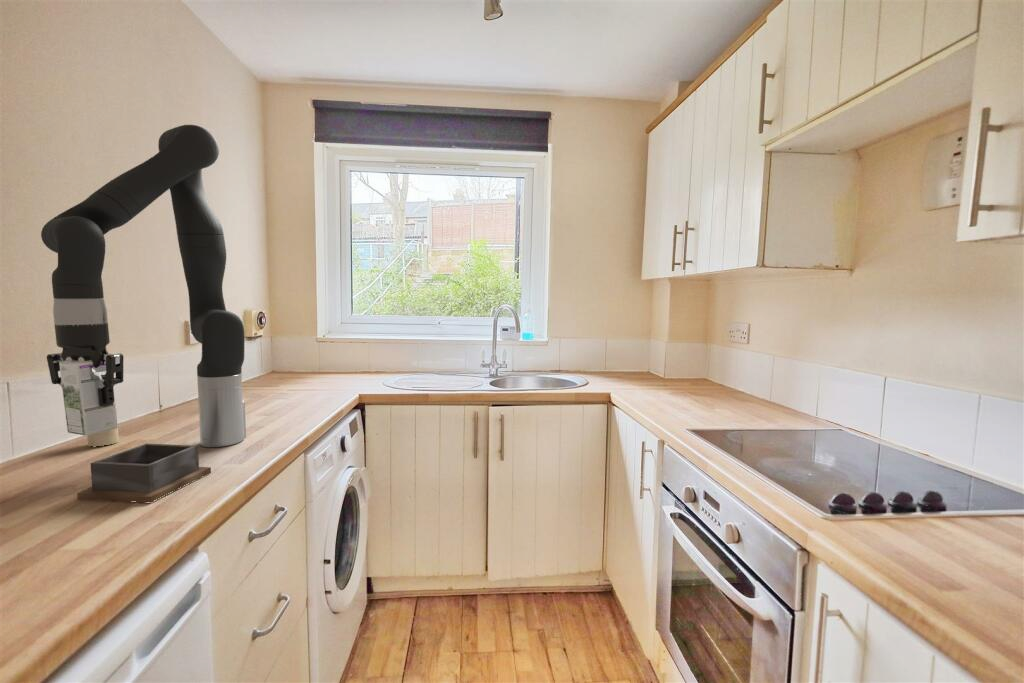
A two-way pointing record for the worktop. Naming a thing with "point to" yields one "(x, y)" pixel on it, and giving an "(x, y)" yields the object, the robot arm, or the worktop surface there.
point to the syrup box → (85, 399)
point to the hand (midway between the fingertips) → (90, 405)
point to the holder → (143, 473)
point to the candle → (103, 437)
